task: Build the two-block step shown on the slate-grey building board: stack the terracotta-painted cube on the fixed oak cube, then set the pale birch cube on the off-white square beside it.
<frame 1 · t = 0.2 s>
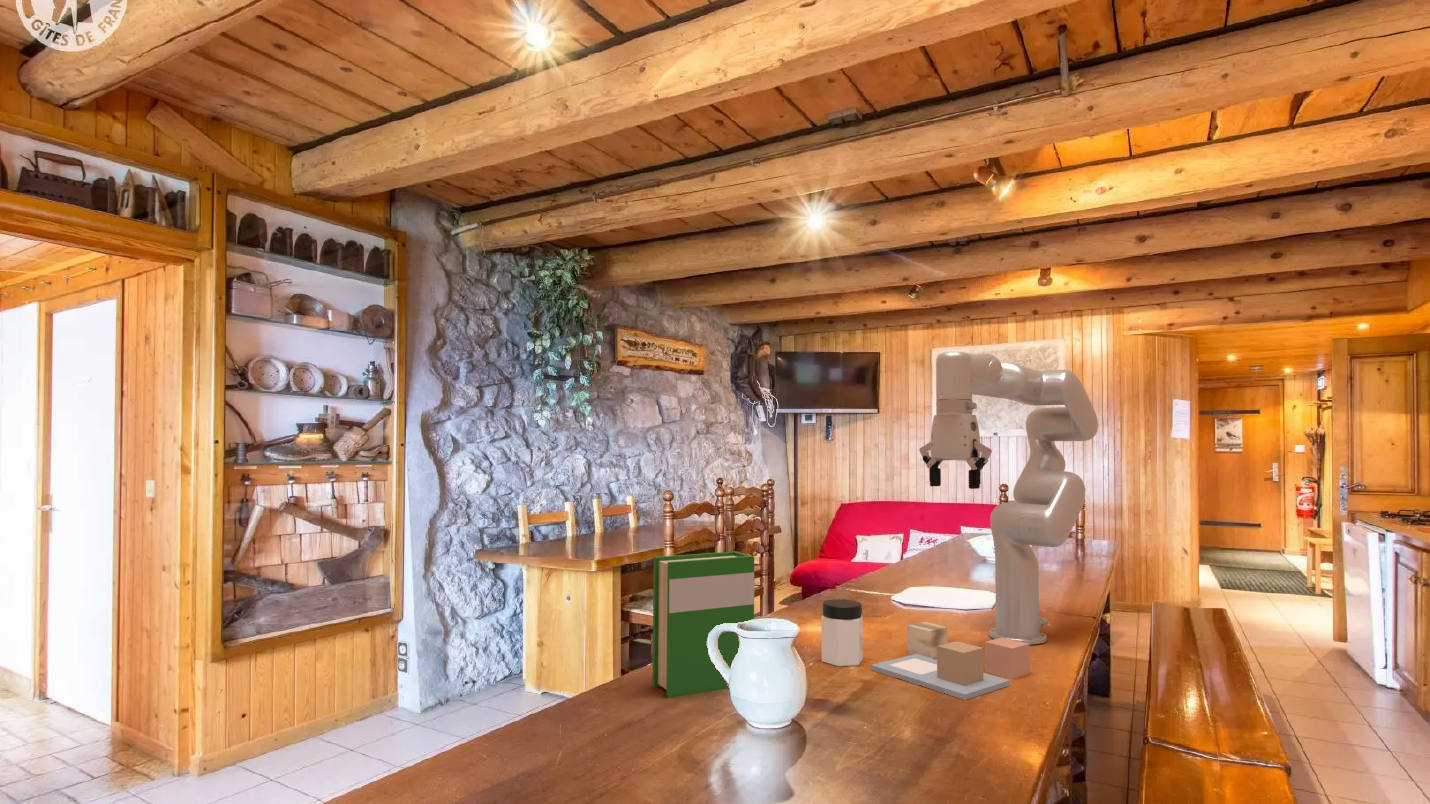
hand: (954, 487, 168), 36 cm above the table, tool pointing down, fingers open, 9 cm apart
terracotta block: (1007, 673, 154), on the table
hardback book: (703, 686, 145), on the table
jar: (842, 661, 162), on the table
birch block: (927, 654, 168), on the table
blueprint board: (938, 677, 151), on the table
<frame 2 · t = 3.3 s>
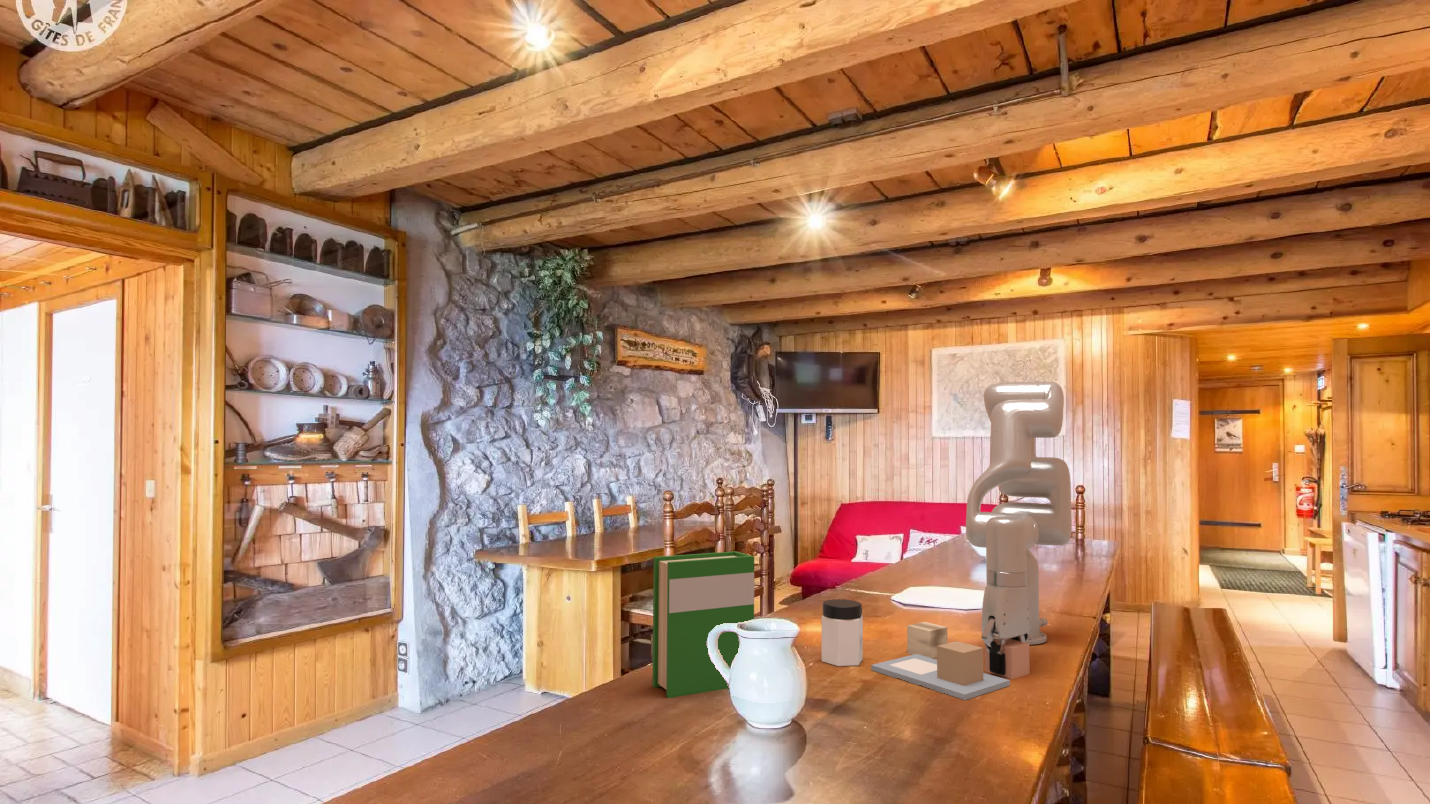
hand: (1007, 669, 154), 1 cm above the table, tool pointing down, fingers closed on terracotta block, 6 cm apart
terracotta block: (1007, 672, 154), on the table, touching gripper
everything else where it was.
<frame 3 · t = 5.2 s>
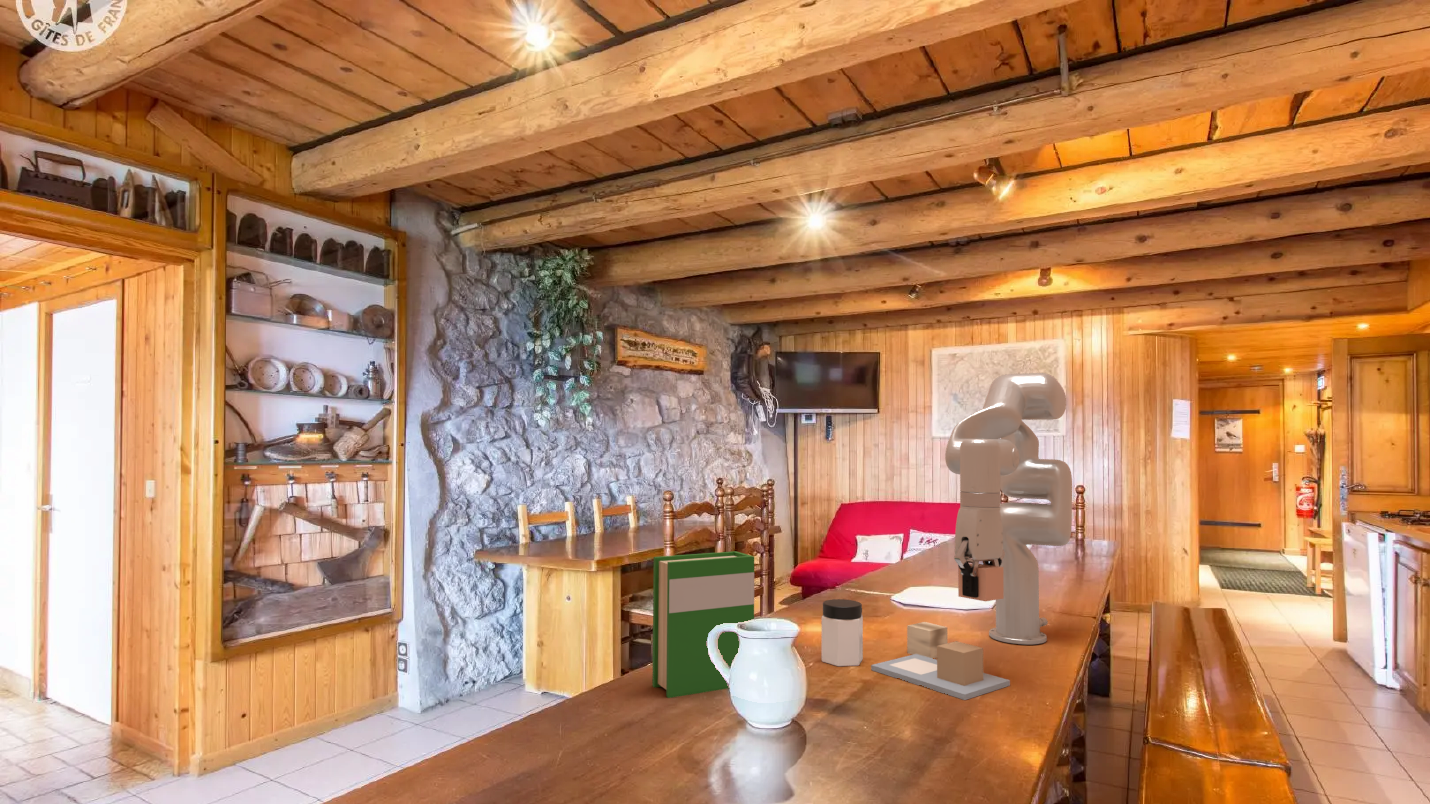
hand: (980, 593, 150), 16 cm above the table, tool pointing down, fingers closed on terracotta block, 6 cm apart
terracotta block: (980, 597, 150), point 16 cm above the table, touching gripper
everything else where it was.
when the fingers open (9 cm above the table, at t = 7.2 s): terracotta block drops 1 cm, resting on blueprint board.
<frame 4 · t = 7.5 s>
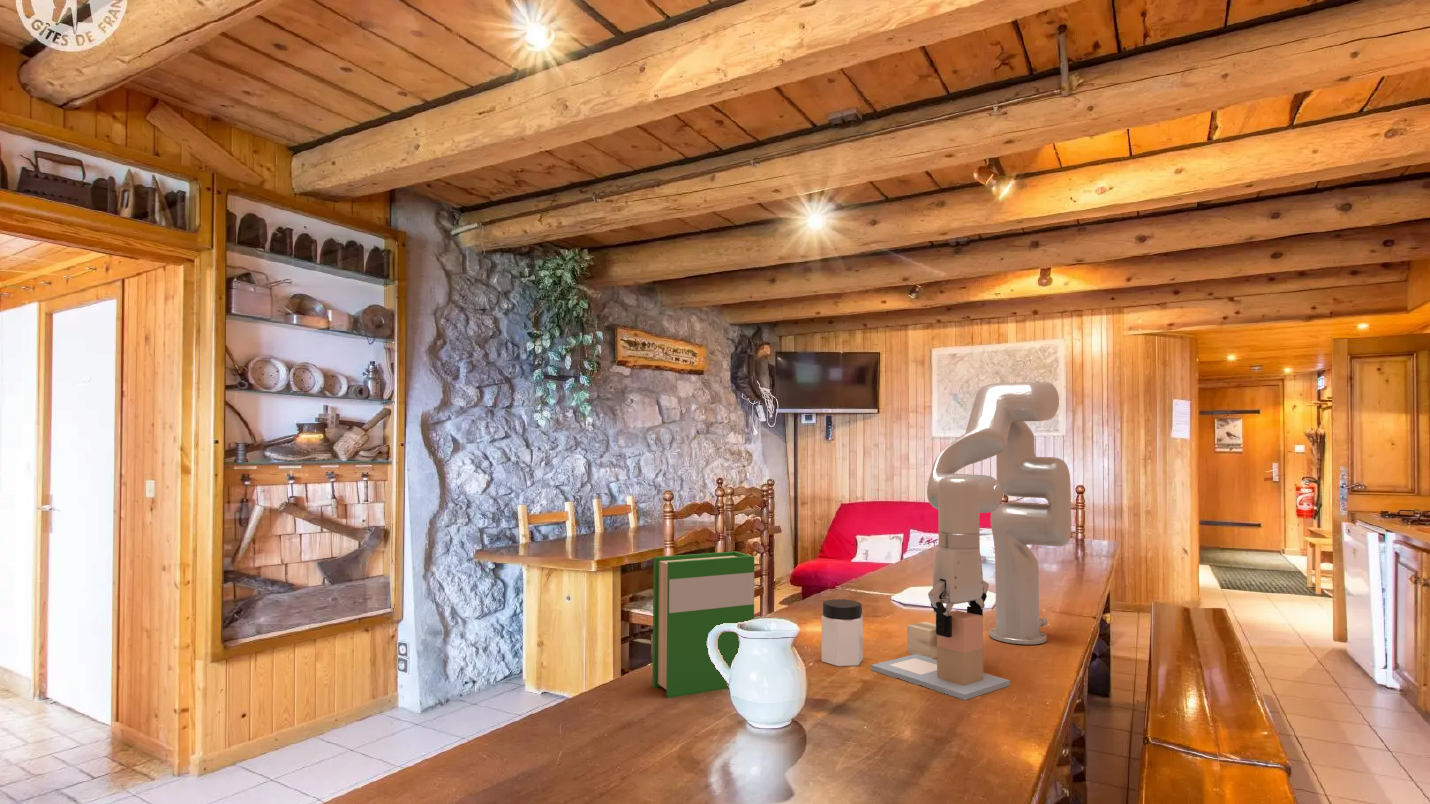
hand: (959, 632, 147), 10 cm above the table, tool pointing down, fingers open, 9 cm apart
terracotta block: (960, 646, 147), point 7 cm above the table, touching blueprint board
everything else where it was.
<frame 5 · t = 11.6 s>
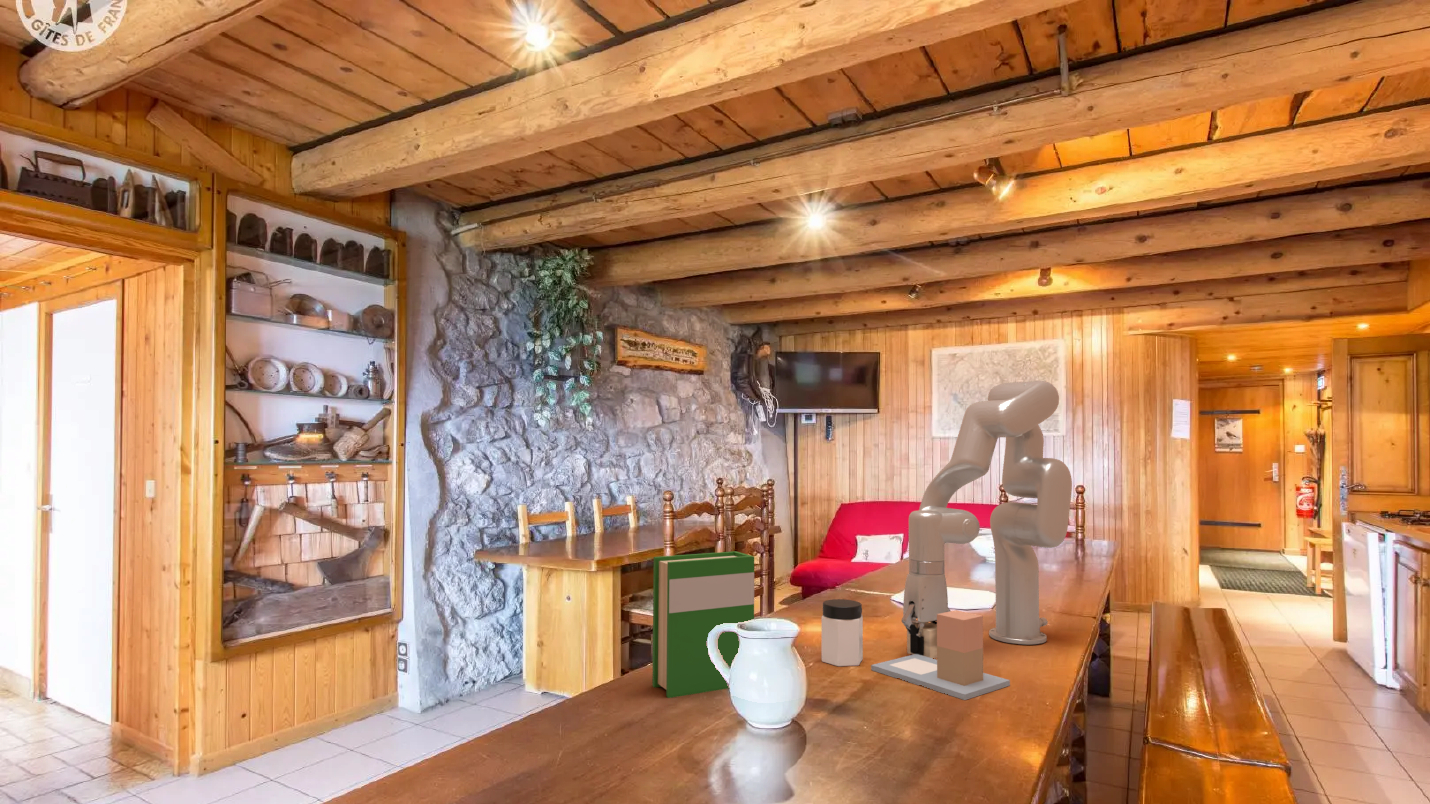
hand: (927, 650, 168), 1 cm above the table, tool pointing down, fingers closed on birch block, 6 cm apart
birch block: (927, 653, 168), on the table, touching gripper
everything else where it was.
when the fingers open (3 cm above the table, at t = 16.5 s): birch block drops 1 cm, resting on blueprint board.
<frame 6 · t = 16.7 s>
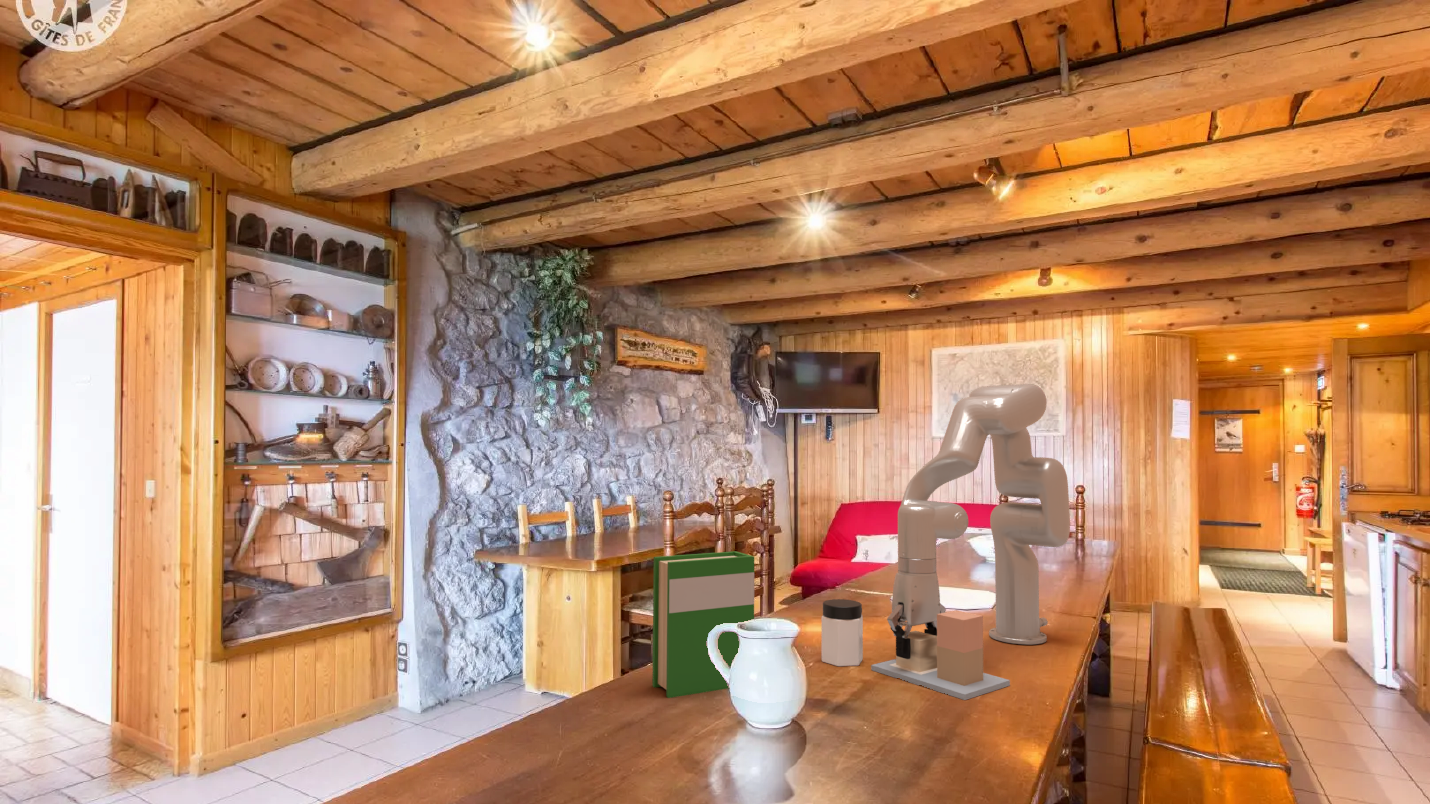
hand: (917, 653, 155), 4 cm above the table, tool pointing down, fingers open, 8 cm apart
birch block: (917, 665, 155), point 1 cm above the table, touching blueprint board
everything else where it was.
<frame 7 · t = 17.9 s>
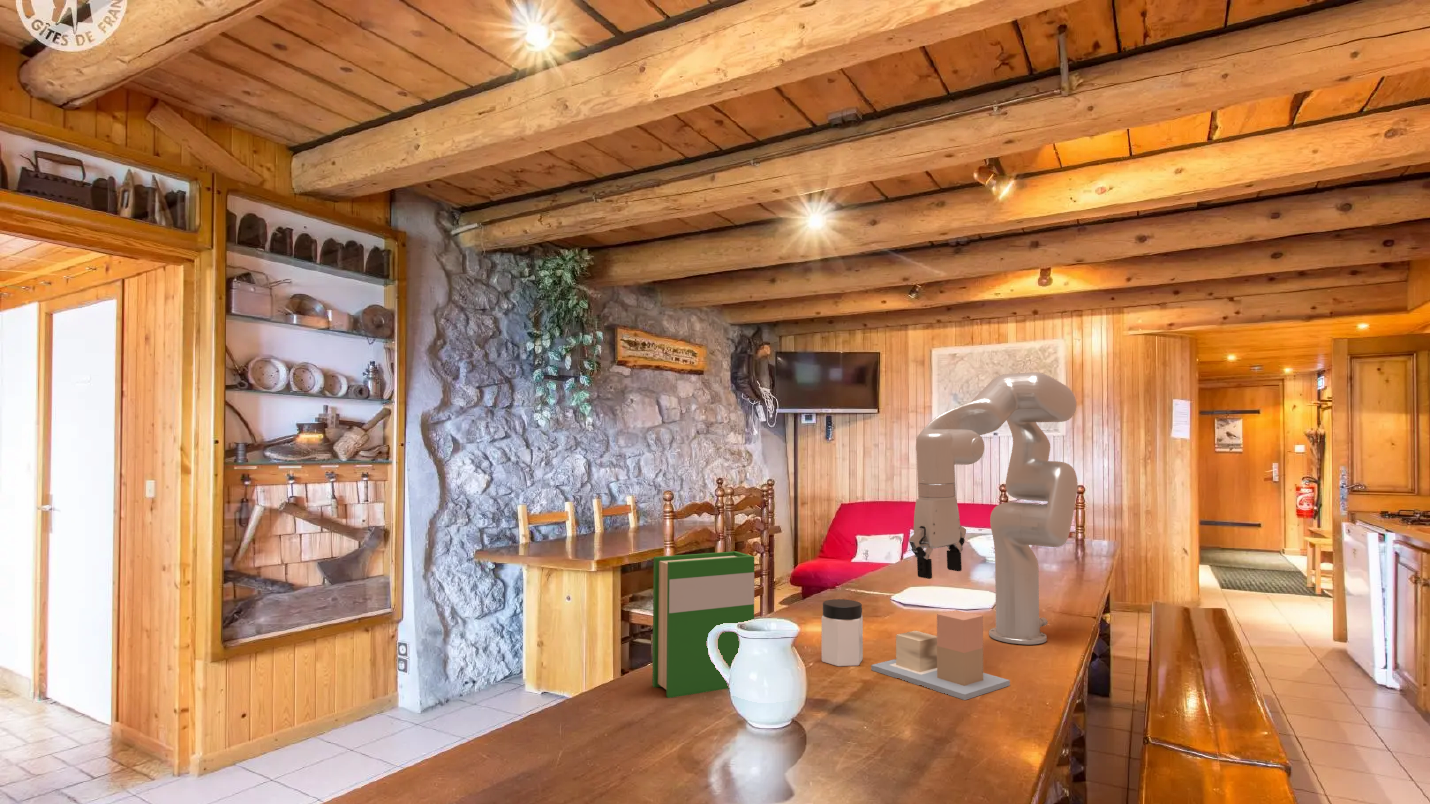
hand: (939, 573, 160), 19 cm above the table, tool pointing down, fingers open, 9 cm apart
nothing on the table moved.
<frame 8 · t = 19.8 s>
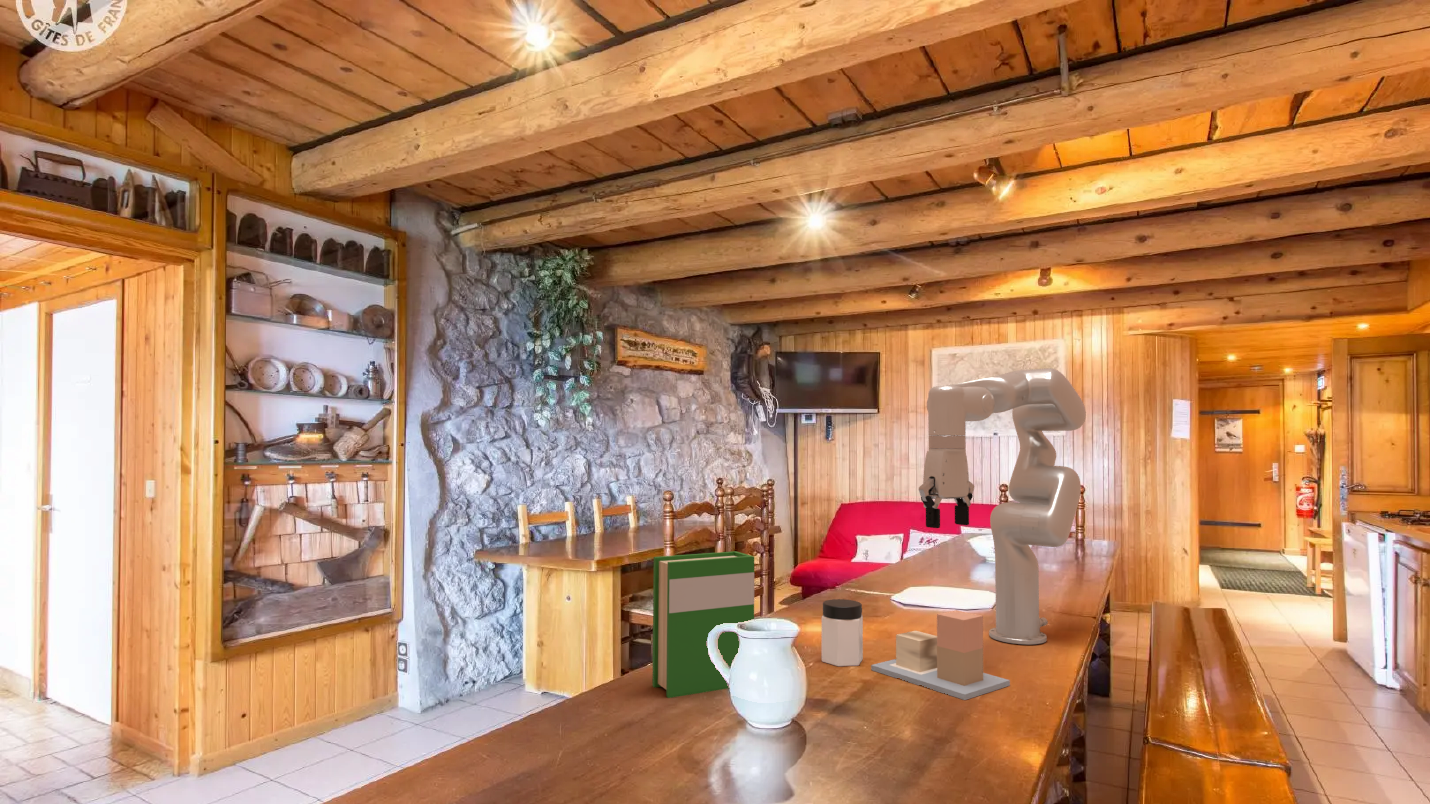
hand: (947, 526, 162), 28 cm above the table, tool pointing down, fingers open, 9 cm apart
nothing on the table moved.
at the end: terracotta block 0.0 cm from the target spot on the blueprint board, point 7.0 cm above the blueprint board's base; terracotta block tilted 0°; birch block inside the target area on the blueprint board (0.1 cm from its centre), point 1.0 cm above the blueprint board's base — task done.
